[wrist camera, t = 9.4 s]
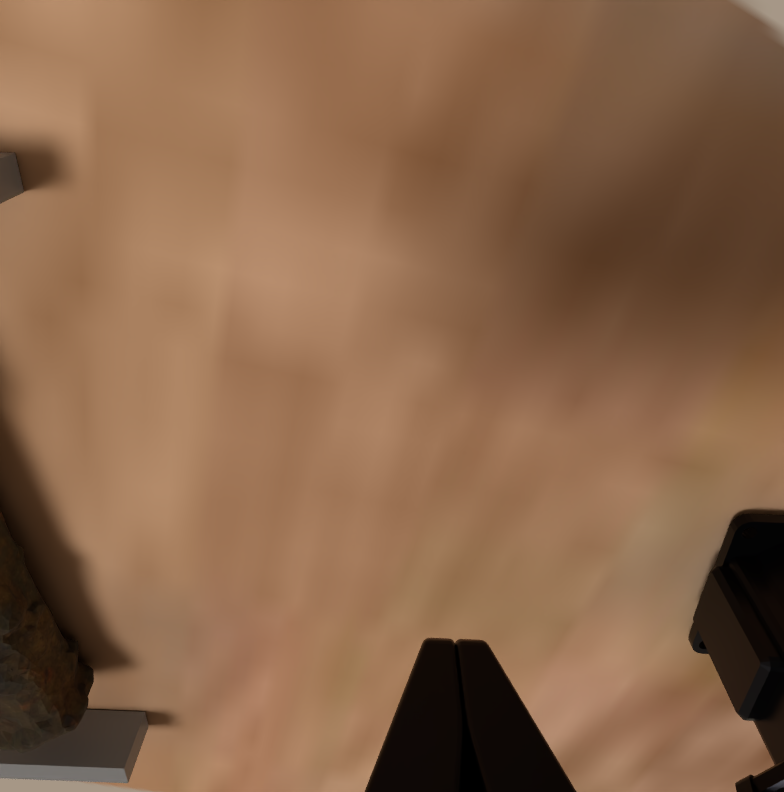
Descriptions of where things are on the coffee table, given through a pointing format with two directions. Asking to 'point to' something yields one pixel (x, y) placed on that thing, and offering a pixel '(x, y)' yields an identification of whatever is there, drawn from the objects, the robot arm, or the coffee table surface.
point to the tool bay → (99, 729)
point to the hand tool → (34, 661)
